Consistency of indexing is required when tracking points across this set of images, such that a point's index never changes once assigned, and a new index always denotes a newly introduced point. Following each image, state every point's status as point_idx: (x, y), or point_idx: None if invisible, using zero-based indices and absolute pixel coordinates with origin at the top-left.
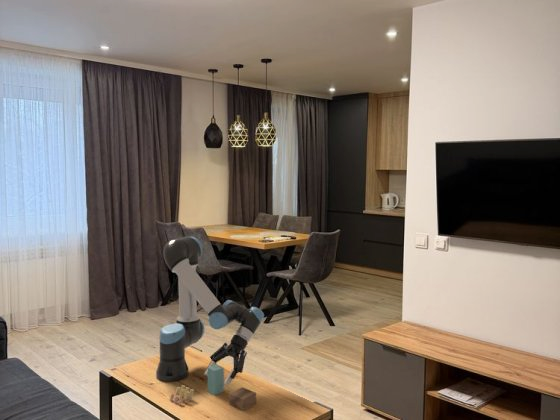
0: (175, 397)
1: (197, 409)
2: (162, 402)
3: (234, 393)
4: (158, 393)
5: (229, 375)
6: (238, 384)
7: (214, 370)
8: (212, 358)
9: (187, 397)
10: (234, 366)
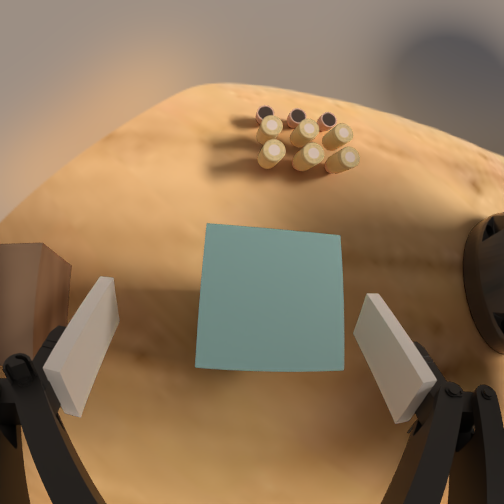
0: (297, 109)
1: (168, 141)
2: (328, 107)
3: (20, 266)
4: (402, 145)
5: (71, 322)
6: (214, 489)
7: (218, 230)
8: (460, 394)
9: (257, 133)
10: (37, 409)
